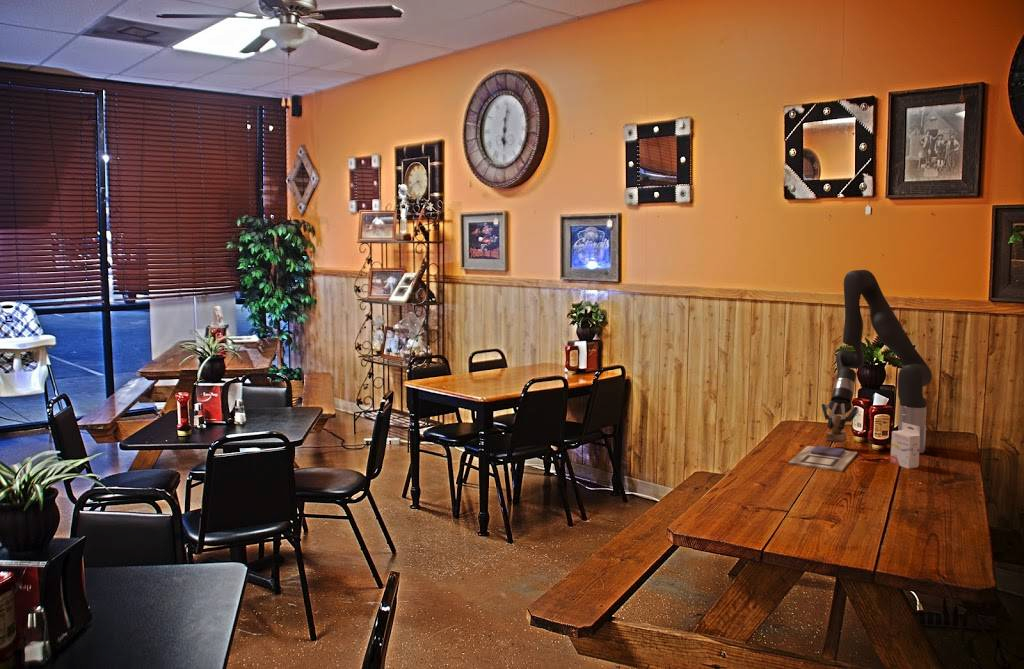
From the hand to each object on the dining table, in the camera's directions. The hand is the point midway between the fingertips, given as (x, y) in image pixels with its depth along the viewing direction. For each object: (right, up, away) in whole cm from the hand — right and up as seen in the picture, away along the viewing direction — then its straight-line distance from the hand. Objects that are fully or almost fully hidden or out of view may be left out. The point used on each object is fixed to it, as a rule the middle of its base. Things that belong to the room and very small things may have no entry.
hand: (835, 428), depth 319 cm
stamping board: (-9, -10, -13) cm, 19 cm away
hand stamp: (+1, -5, +2) cm, 5 cm away
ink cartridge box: (+16, -11, -21) cm, 29 cm away
